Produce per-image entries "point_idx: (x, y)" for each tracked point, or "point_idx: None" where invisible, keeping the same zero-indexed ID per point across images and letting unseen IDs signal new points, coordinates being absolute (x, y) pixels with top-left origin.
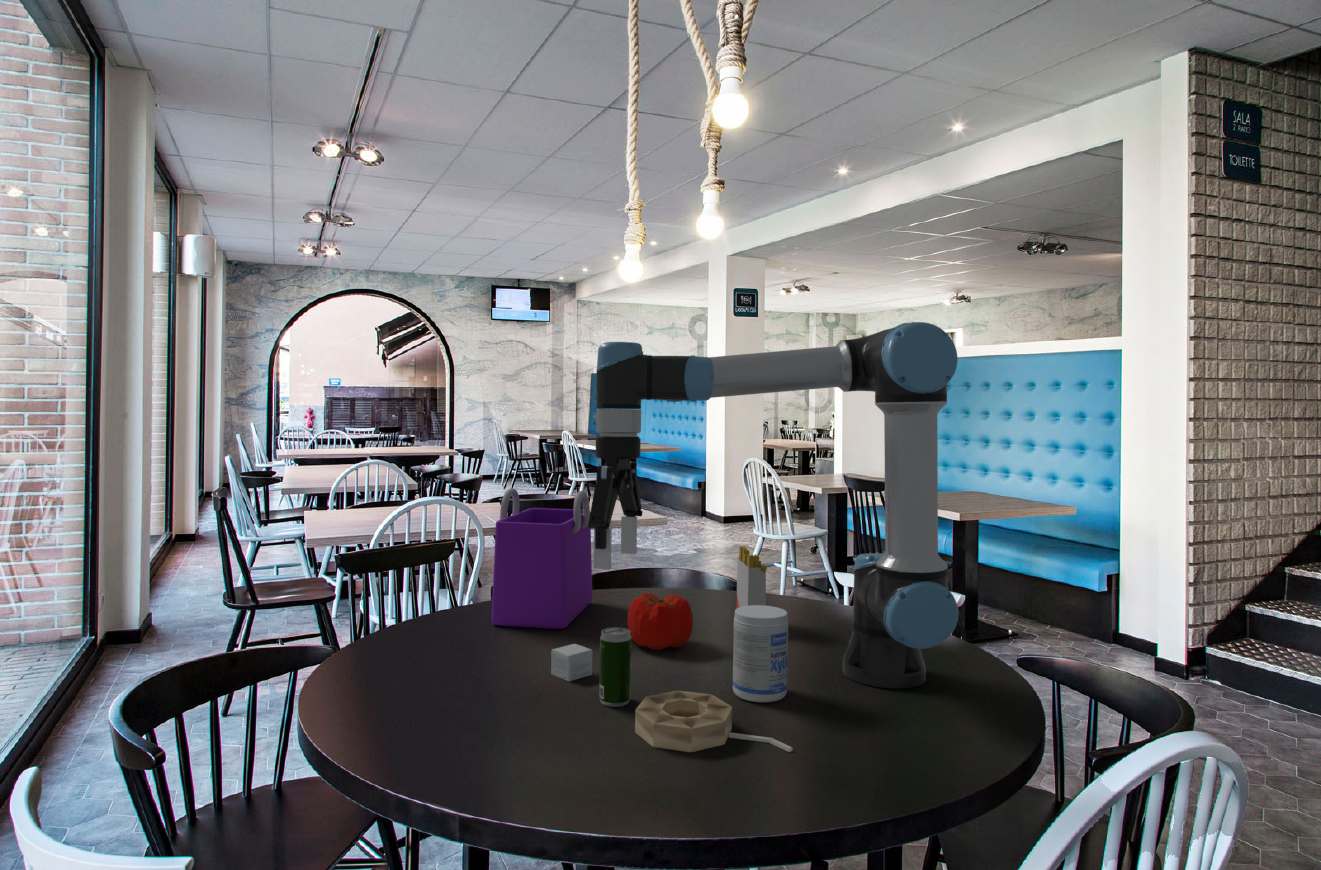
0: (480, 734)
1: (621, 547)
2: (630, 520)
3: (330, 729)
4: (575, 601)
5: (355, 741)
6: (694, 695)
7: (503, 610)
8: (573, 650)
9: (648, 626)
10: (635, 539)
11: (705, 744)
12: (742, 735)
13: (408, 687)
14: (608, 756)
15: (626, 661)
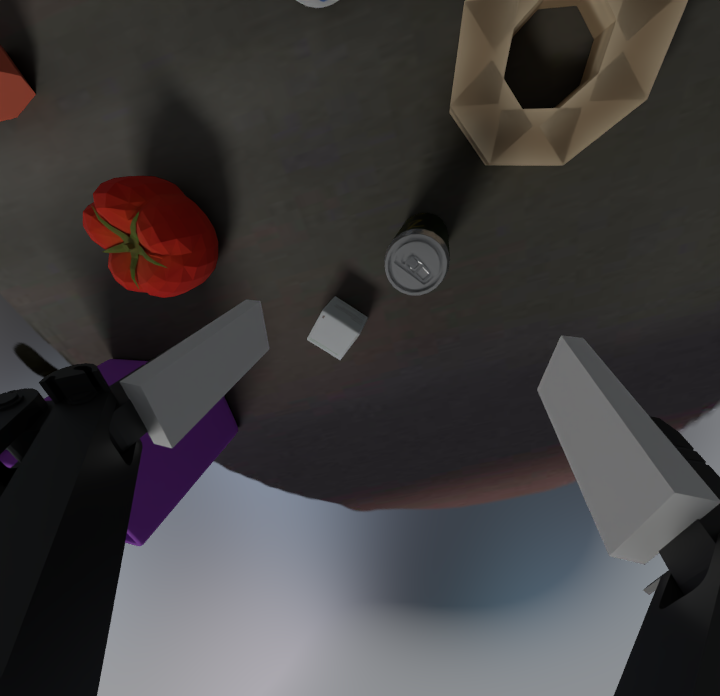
0: None
1: (258, 357)
2: (168, 399)
3: (538, 480)
4: None
5: None
6: (474, 50)
7: (226, 433)
8: (336, 333)
9: (201, 249)
10: (225, 325)
11: None
12: None
13: (425, 453)
14: (654, 181)
15: (436, 226)
